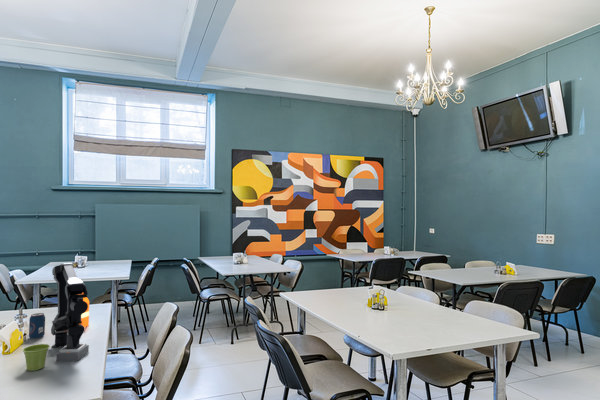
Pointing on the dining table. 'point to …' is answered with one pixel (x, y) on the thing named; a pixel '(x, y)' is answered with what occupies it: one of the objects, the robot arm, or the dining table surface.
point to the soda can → (37, 326)
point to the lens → (70, 344)
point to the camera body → (72, 353)
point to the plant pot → (35, 356)
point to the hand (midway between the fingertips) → (73, 344)
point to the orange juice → (85, 314)
